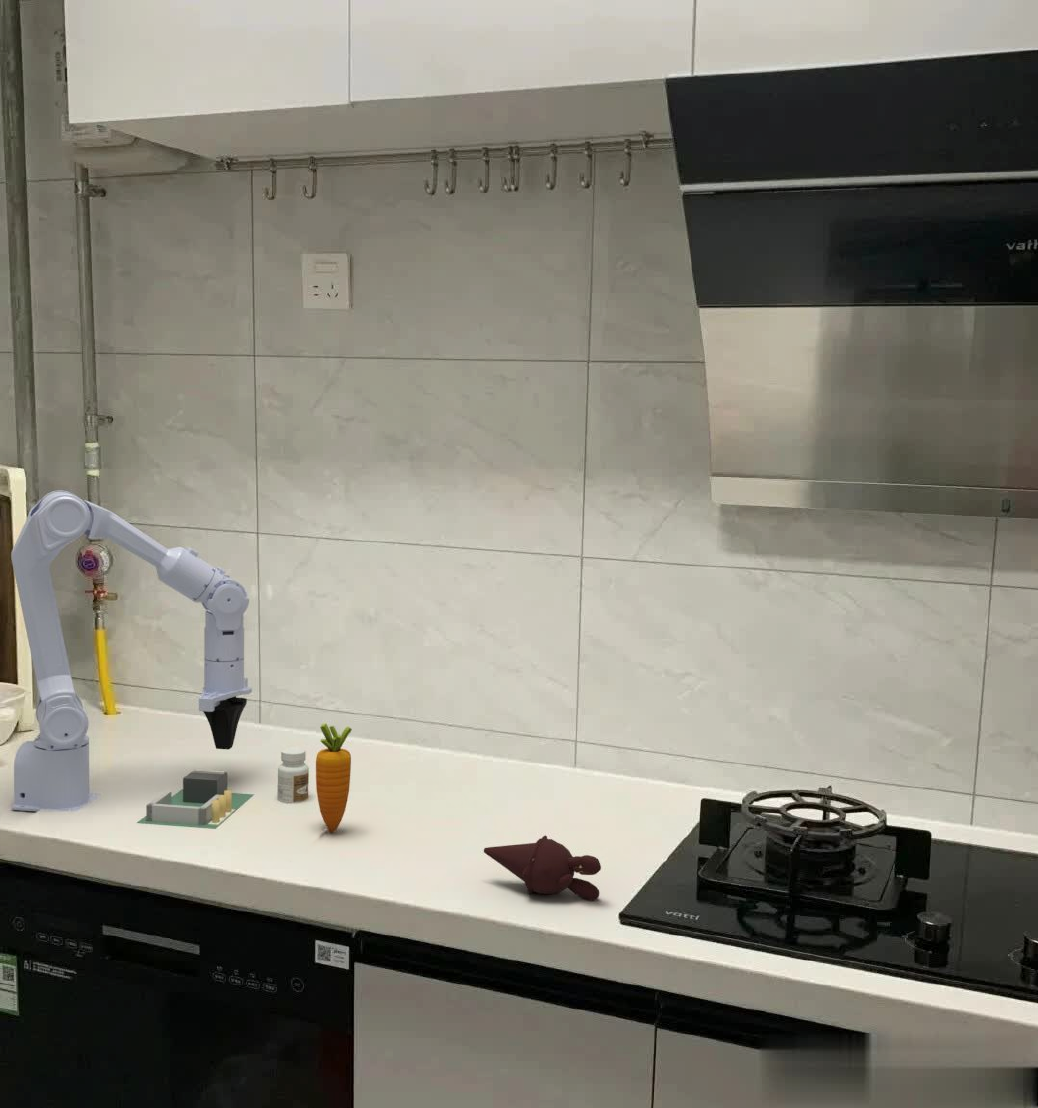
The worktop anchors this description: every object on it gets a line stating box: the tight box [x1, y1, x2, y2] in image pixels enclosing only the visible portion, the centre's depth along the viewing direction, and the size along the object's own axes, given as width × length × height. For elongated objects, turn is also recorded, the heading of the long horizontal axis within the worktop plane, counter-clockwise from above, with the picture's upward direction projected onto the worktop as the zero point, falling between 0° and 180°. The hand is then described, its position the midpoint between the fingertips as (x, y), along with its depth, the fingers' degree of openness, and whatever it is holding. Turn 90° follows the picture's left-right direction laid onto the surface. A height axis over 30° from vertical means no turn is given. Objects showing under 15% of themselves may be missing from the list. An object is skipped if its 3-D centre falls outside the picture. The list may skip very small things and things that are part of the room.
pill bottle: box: [277, 746, 310, 804], centre depth 168 cm, size 4×4×8 cm
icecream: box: [483, 835, 602, 901], centre depth 139 cm, size 7×7×15 cm
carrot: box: [315, 723, 352, 834], centre depth 156 cm, size 5×5×15 cm
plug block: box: [182, 768, 228, 804], centre depth 167 cm, size 5×4×4 cm
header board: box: [136, 788, 255, 830], centre depth 163 cm, size 11×15×4 cm
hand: (224, 748), depth 173 cm, fingers closed
